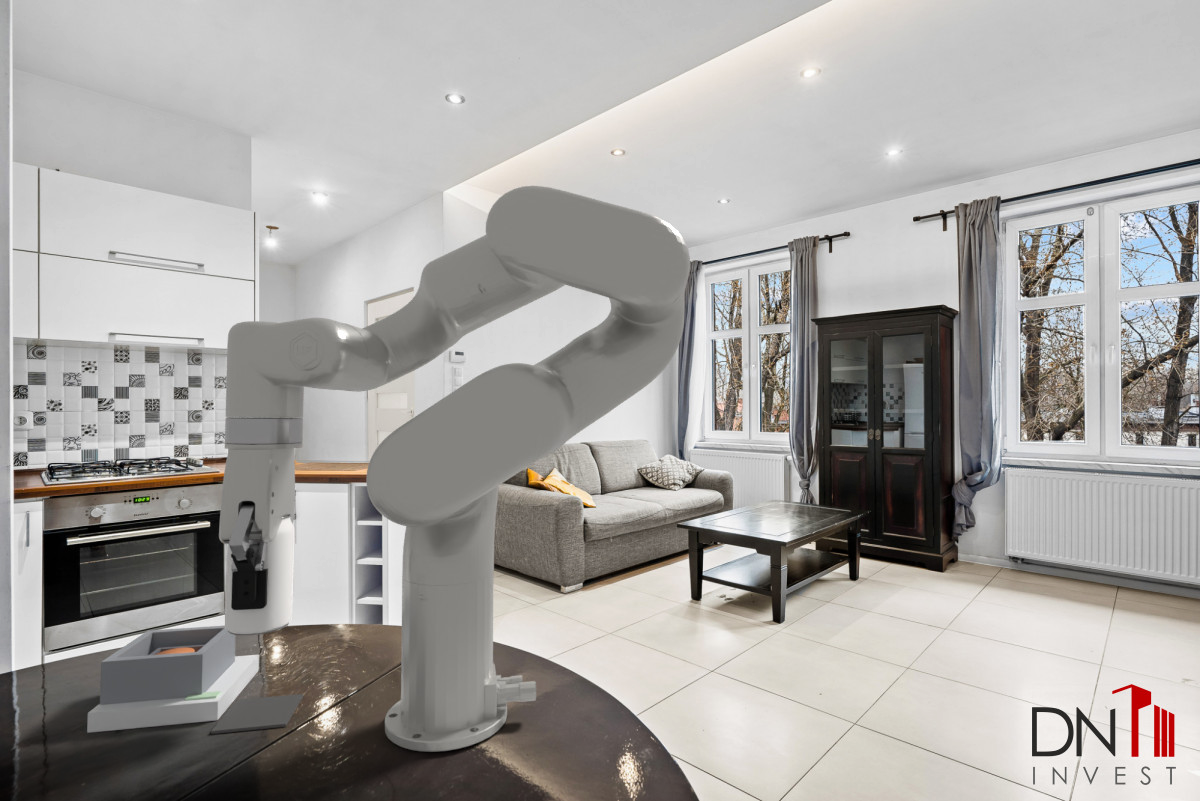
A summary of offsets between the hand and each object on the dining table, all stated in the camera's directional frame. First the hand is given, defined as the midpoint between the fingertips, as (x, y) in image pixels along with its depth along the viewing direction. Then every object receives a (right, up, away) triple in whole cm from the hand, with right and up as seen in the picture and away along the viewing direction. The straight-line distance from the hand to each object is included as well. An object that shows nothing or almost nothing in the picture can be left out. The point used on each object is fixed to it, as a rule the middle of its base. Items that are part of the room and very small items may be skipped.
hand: (260, 596), depth 66 cm
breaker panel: (-11, -13, +3) cm, 17 cm away
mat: (0, -13, 0) cm, 13 cm away
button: (-12, -11, +3) cm, 16 cm away
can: (0, -3, 0) cm, 3 cm away
